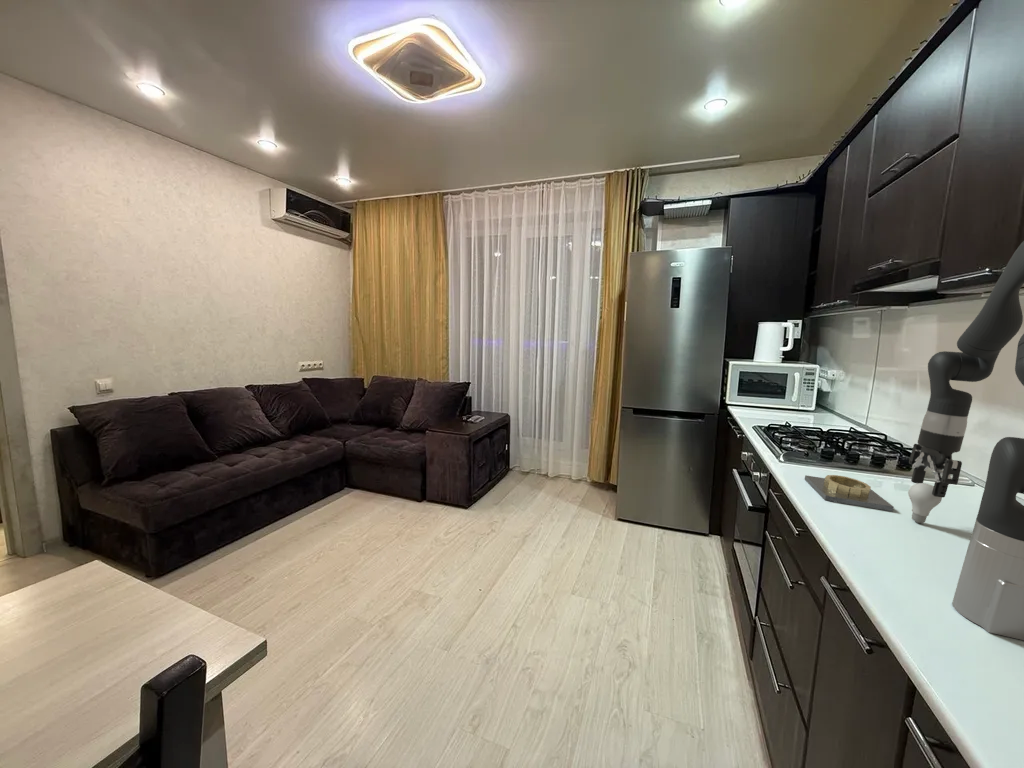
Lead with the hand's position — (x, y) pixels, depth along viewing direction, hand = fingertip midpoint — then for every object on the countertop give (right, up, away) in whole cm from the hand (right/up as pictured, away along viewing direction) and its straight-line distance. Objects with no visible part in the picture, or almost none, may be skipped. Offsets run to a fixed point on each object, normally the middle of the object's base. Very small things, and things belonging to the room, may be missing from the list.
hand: (926, 489), depth 103 cm
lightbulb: (-1, -10, +2) cm, 10 cm away
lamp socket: (-7, -6, +17) cm, 20 cm away
